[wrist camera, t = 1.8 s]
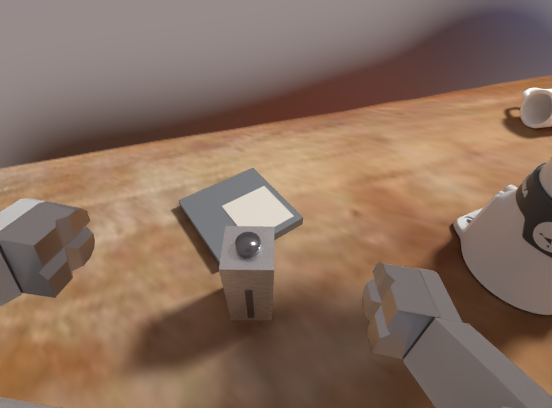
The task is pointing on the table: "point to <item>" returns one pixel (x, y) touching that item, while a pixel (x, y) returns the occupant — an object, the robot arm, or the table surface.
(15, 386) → the table surface
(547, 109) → the mug
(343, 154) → the table surface
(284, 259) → the table surface
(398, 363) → the table surface
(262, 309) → the aluminium block
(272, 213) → the dock board
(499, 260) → the robot arm
